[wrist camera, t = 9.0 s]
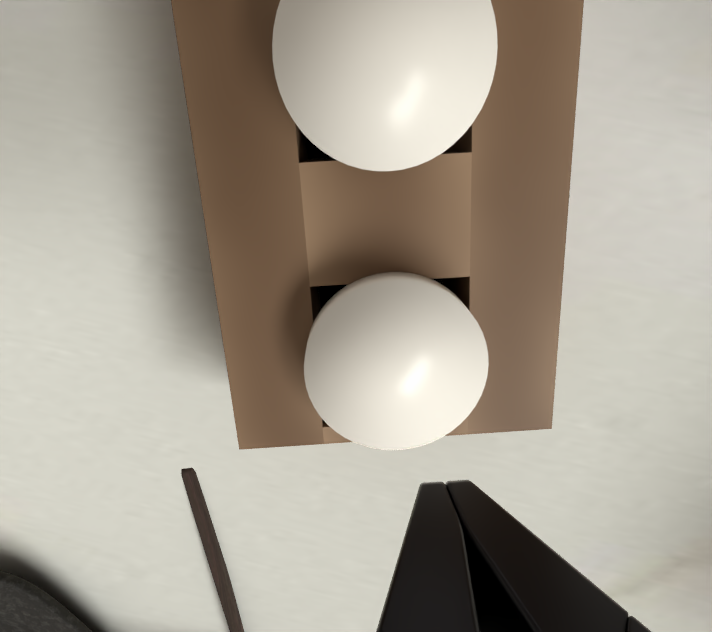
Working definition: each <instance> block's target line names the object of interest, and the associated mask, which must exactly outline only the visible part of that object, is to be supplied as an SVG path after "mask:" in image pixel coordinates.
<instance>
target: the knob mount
mask: <svg viewBox="0 0 712 632" xmlns="http://www.w3.org/2000/svg"><path fill="white" fill-rule="evenodd" d="M279 3H280V0H171V4H172V10H173V17H174V23H175V30H176V37H177V43H178V50H179V56H180V63H181V69H182V76H183V83H184V89H185V96H186V102H187V109H188V115H189V122H190V128H191V135H192V142H193V148H194V155H195V161H196V168H197V174H198V181H199V188H200V194H201V201H202V207H203V214H204V220H205V227H206V233H207V240H208V247H209V253H210V260H211V266H212V273H213V279H214V286H215V293H216V299H217V306H218V312H219V319H220V325H221V332H222V338H223V345H224V352H225V358H226V365H227V371H228V378H229V384H230V391H231V398H232V404H233V411H234V417H235V424H236V430H237V437H238V443H239V449H254V448H269V447H284V446H299V445H314V444H329V443H344V442H352V441H350V440H348V439H346V438H345V437H343V436H341V435H340V434H338V433H337V432H336V431H334V430H333V429H332V428H331V427H330V426H329V425H327V423H326V422H325V421H324V420H323V419H322V418H321V417H320V415H319V414H318V412H317V411H316V409H315V408H314V406H313V404H312V402H311V400H310V398H309V395H308V392H307V389H306V384H305V378H304V360H305V352H306V346H307V341H308V337H309V333H310V330H311V327H312V325H313V322H314V320H315V318H316V317H317V315H318V313H319V312H320V310H321V309H320V297H319V286H329V285H344V284H351V283H353V282H354V281H356V280H359V279H361V278H364V277H367V276H370V275H374V274H378V273H386V272H406V273H413V274H417V275H421V276H425V277H427V278H430V279H439V278H443V286H445V287H447V288H448V289H449V290H450V291H452V292H453V293H454V294H455V295H456V296H457V297H458V298H459V299H460V300H461V301H462V302H463V303H464V305H465V306H466V307H467V309H468V310H469V311H470V313H471V314H472V315H473V317H474V318H475V319H476V321H477V322H478V324H479V326H480V328H481V330H482V332H483V335H484V338H485V341H486V345H487V350H488V362H489V365H488V375H487V380H486V384H485V387H484V390H483V392H482V395H481V397H480V399H479V401H478V403H477V404H476V406H475V408H474V409H473V410H472V412H471V413H470V414H469V416H468V417H467V418H466V419H465V420H464V421H463V422H462V423H461V424H460V425H459V426H457V427H456V428H455V429H454V430H453V431H451V432H450V433H448V434H447V435H445V436H449V435H464V434H479V433H494V432H509V431H524V430H539V429H552V416H553V402H554V389H555V376H556V363H557V349H558V336H559V323H560V309H561V296H562V283H563V270H564V256H565V243H566V230H567V216H568V203H569V190H570V176H571V163H572V150H573V137H574V123H575V110H576V97H577V83H578V70H579V57H580V44H581V30H582V17H583V4H584V0H491V4H492V7H493V11H494V14H495V21H496V27H497V45H498V49H497V60H496V67H495V72H494V77H493V81H492V84H491V87H490V90H489V93H488V96H487V98H486V100H485V102H484V105H483V107H482V109H481V111H480V112H479V114H478V115H477V117H476V119H475V120H474V122H473V123H472V125H471V126H470V127H469V128H468V130H467V131H466V132H465V133H464V135H463V136H462V137H460V138H459V139H458V140H457V141H456V142H455V143H454V144H453V145H452V146H451V147H449V148H448V149H447V150H446V151H444V152H443V153H442V154H440V155H438V156H436V157H435V158H433V159H431V160H429V161H427V162H425V163H422V164H420V165H418V166H414V167H411V168H407V169H403V170H396V171H371V170H364V169H360V168H356V167H353V166H349V165H347V164H344V163H342V162H340V161H338V160H336V159H334V158H315V159H308V154H307V143H306V136H305V135H304V134H303V133H302V131H301V130H300V129H299V127H298V126H297V125H296V123H295V122H294V121H293V119H292V117H291V115H290V114H289V112H288V110H287V108H286V106H285V104H284V102H283V99H282V97H281V95H280V92H279V88H278V85H277V81H276V78H275V72H274V66H273V54H272V40H273V28H274V23H275V18H276V13H277V9H278V6H279Z"/></svg>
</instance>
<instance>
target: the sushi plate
mask: <svg viewBox="0 0 712 632" xmlns="http://www.w3.org/2000/svg"><path fill="white" fill-rule="evenodd" d="M182 478H183V481H184V484H185V488H186V491H187V494H188V498H189V501H190V504H191V508H192V511H193V514H194V517H195V521H196V524H197V527H198V530H199V533H200V537H201V540H202V543H203V546H204V550H205V553H206V556H207V559H208V562H209V566H210V569H211V572H212V575H213V578H214V582H215V585H216V588H217V591H218V595H219V598H220V601H221V604H222V607H223V611H224V614H225V617H226V620H227V623H228V626H229V629H230V632H244V629H243V626H242V622H241V618H240V614H239V611H238V607H237V603H236V599H235V596H234V592H233V588H232V585H231V581H230V578H229V574H228V571H227V567H226V564H225V561H224V558H223V555H222V552H221V549H220V546H219V542H218V539H217V536H216V533H215V530H214V527H213V524H212V521H211V518H210V515H209V511H208V508H207V505H206V502H205V499H204V496H203V493H202V490H201V487H200V484H199V481H198V478H197V475H196V472H195V471H194V469H193V468H187V469H182ZM0 632H92V631H91V630H90V629H89V628H88V627H87V626H86V625H85V624H84V623H82V622H81V621H80V620H79V619H78V618H77V617H76V616H74V615H73V614H72V613H71V612H70V611H69V610H67V609H66V608H65V607H64V606H63V605H62V604H60V603H59V602H58V601H57V600H55V599H54V598H53V597H51V596H50V595H49V594H48V593H46V592H45V591H43V590H42V589H40V588H39V587H37V586H36V585H34V584H32V583H30V582H28V581H26V580H24V579H22V578H20V577H18V576H15V575H12V574H9V573H6V572H0Z"/></svg>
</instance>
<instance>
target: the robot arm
mask: <svg viewBox="0 0 712 632" xmlns="http://www.w3.org/2000/svg"><path fill="white" fill-rule="evenodd" d="M376 632H651V631H650V630H649V629H648V628H646V627H645V626H644V625H643V624H642V623H640V622H639V621H638V620H637V619H636V618H634V617H633V616H629V617H628V612H627V611H626V610H624V609H623V608H622V607H621V606H620V605H618V604H617V603H616V602H615V601H614V600H612V599H611V598H610V597H609V596H608V595H606V594H605V593H604V592H603V591H602V590H600V589H599V588H598V587H597V586H596V585H594V584H593V583H592V582H591V581H590V580H588V579H587V578H586V577H585V576H584V575H582V574H581V573H580V572H579V571H578V570H576V569H575V568H574V567H573V566H572V565H570V564H569V563H568V562H567V561H566V560H564V559H563V558H562V557H561V556H560V555H558V554H557V553H556V552H555V551H554V550H552V549H551V548H550V547H549V546H548V545H547V544H545V543H544V542H543V541H542V540H541V539H539V538H538V537H537V536H536V535H535V534H533V533H532V532H531V531H530V530H529V529H527V528H526V527H525V526H524V525H523V524H521V523H520V522H519V521H518V520H517V519H515V518H514V517H513V516H512V515H511V514H509V513H508V512H507V511H506V510H505V509H503V508H502V507H501V506H500V505H499V504H497V503H496V502H495V501H494V500H493V499H491V498H490V497H489V496H488V495H487V494H485V493H484V492H483V491H482V490H481V489H479V488H478V487H477V486H476V485H475V484H473V483H472V482H471V481H469V480H458V481H448V482H446V484H444V483H443V482H428V483H422V484H421V485H420V487H419V490H418V493H417V497H416V500H415V503H414V507H413V510H412V513H411V517H410V520H409V524H408V527H407V530H406V534H405V537H404V540H403V544H402V547H401V550H400V554H399V557H398V560H397V564H396V567H395V571H394V574H393V577H392V581H391V584H390V587H389V591H388V594H387V597H386V601H385V604H384V607H383V611H382V614H381V617H380V621H379V624H378V628H377V631H376Z"/></svg>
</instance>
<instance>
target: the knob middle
mask: <svg viewBox="0 0 712 632" xmlns="http://www.w3.org/2000/svg"><path fill="white" fill-rule="evenodd" d="M497 49H498V45H497V27H496V21H495V14H494V11H493V7H492V4H491V0H280V3H279V6H278V9H277V13H276V18H275V23H274V28H273V40H272V54H273V66H274V72H275V78H276V81H277V85H278V88H279V92H280V95H281V97H282V99H283V102H284V104H285V106H286V108H287V110H288V112H289V114H290V115H291V117H292V119H293V121H294V122H295V123H296V125H297V126H298V127H299V129H300V130H301V131H302V133H303V134H304V135H305V136H306V137H307V138H308V139H309V140H310V141H311V142H312V143H313V144H314V145H315V146H317V147H318V148H319V149H320V150H322V151H323V152H324V153H326V154H327V155H329V156H331V157H332V158H334V159H336V160H338V161H340V162H342V163H344V164H347V165H349V166H353V167H356V168H360V169H364V170H371V171H396V170H403V169H407V168H411V167H414V166H418V165H420V164H422V163H425V162H427V161H429V160H431V159H433V158H435V157H436V156H438V155H440V154H442V153H443V152H444V151H446V150H447V149H448V148H449V147H451V146H452V145H453V144H454V143H455V142H456V141H457V140H458V139H459V138H460V137H462V136H463V135H464V133H465V132H466V131H467V130H468V128H469V127H470V126H471V125H472V123H473V122H474V120H475V119H476V117H477V115H478V114H479V112H480V111H481V109H482V107H483V105H484V102H485V100H486V98H487V96H488V93H489V90H490V87H491V84H492V81H493V77H494V72H495V67H496V60H497Z"/></svg>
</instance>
